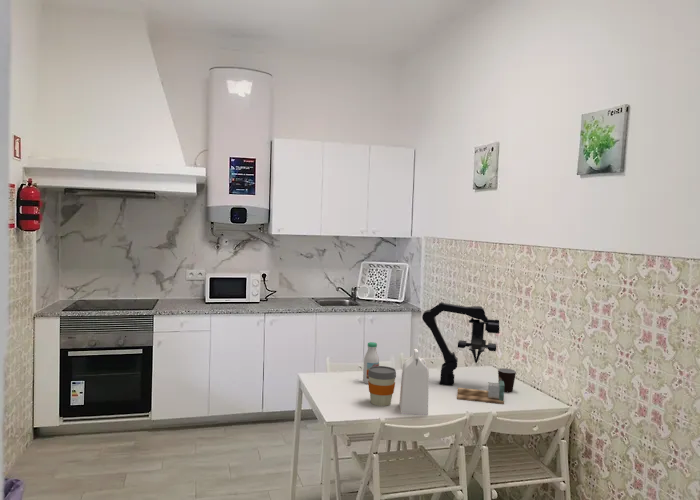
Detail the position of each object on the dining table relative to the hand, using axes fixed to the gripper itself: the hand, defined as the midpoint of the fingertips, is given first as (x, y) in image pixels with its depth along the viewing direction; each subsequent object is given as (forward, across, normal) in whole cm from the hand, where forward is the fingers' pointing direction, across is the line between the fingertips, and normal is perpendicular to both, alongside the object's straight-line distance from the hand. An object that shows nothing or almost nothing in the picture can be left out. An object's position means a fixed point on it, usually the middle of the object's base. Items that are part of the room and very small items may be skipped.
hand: (476, 362), depth 283 cm
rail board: (+12, +3, -18) cm, 22 cm away
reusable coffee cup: (+12, -39, -43) cm, 60 cm away
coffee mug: (+12, +15, 0) cm, 19 cm away
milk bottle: (+12, -50, -15) cm, 54 cm away
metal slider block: (+11, +9, -18) cm, 23 cm away
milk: (+12, -24, -47) cm, 54 cm away
